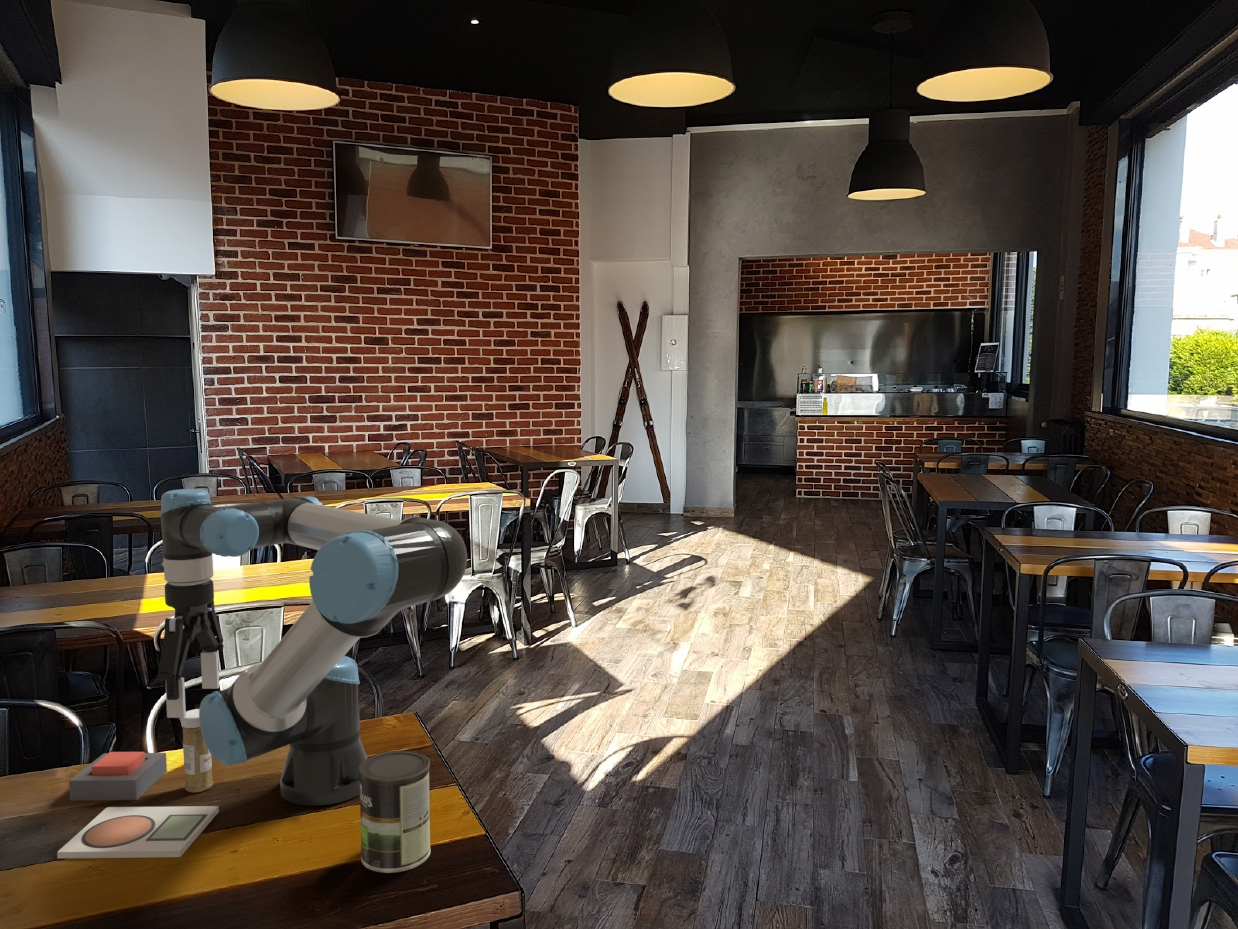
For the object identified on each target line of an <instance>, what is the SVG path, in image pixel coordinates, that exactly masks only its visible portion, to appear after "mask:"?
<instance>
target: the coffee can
mask: <svg viewBox="0 0 1238 929" xmlns="http://www.w3.org/2000/svg"><path fill="white" fill-rule="evenodd" d="M367 758H368V759H366V760H365V761H363V762H362V763H361V764H360V766H359V769H358V772H359V776H360V777H359V780H360V795H359V807H360V810H359V813H360V846H361V847H360V850H361V851H360V852H361V855H360V861H361V863H362V865H363V866H364V867H365V868H366V869H367V870H370V871H372V872H376V873H382V874H383V873H384V874H394V873H395V874H397V873H402V872H406V871H409V870H412V869H415V868H417V867H418V866H421V865H422V864H423V863H425V862H426V861H428V859H429V857H430V855H431V852H432V851H431V850H432V849H431V828H430V826H431V825H430V823H431V820H430V819H431V818H430V817H431V816H430V767H431V761H430V759H429V757H427V756H426V755H424V754H422V753H420V752H416V751H411V750H410V751H409V750H408V751H407V750H394V751H387V752H385V751H384V752H382V753H378V754H375V755H372V756H371V757H367Z"/></svg>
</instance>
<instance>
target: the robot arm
mask: <svg viewBox="0 0 1238 929" xmlns="http://www.w3.org/2000/svg"><path fill="white" fill-rule="evenodd" d="M160 498H161V499H160V506H161V507H160V508H161V509H160V511H161V512H160V513H159V516H160V523H161V524H160V525H161V540H162V552H163V555H162V556H163V561H162V563H161V566H162V567H163V573H164V576H163V577H164V578H163V579H164V581H165V582H166V583H165V585H164V602H165V605H166V606H168V607H170V608H172V609H174V617H173V618H172V617H171V618H170V617H169V618H165V619H164V635H163V641H162V648H161V653H160V658H159V659H160V660H159V665H158V672H157V681H165V700H166V717H167V718H168V719H170V718H171V719H172V718H174V719H179V718H180V719H181V718H184V717H185V716H186V712H187V710H186V708H187V707H186V690H185V689H186V688H185V677H182V676H183V675H182V674H183V671H184V667H185V663H186V660H187V656H188V652H189V649H190V644H191V643H192V642H193V641H194V640H195V639H196V640H197V641H198V643H199V644H200V647H201V649H202V650H203V651H202V652H201V653H200V664H201V667H200V668H201V685H202V686H201V688H202V690H203V689H206V690H207V689H212V690H213V689H214V691H213V692H212V693H209V694H207V695H206V696H204V697H203V699H202V700H201V701H200V705H199V708H198V709H199V721H200V728H201V732H202V735H203V738H204V741H205V743H206V746H207V748H208V750H209V751H210V753H211V757H213V758H214V759H215V760H216V761H218V763H219V764H221V765H223V766H227V767H230V766H231V767H232V766H235V765H238V764H242V763H244V764H245V763H247V762H248V761H249V760H251V759H254V758H257V757H260V756H262V755H265V754H268V753H270V752H274V751H277V750H279V749H280V748H283V747H286V746H288V745H289V749H288V753H287V756H286V759H285V762H284V766H283V769H282V772H281V775H280V782H279V783H280V786H279V787H280V796H281V797H282V798H283V799H284V800H285V801H287V802H289V803H292V804H294V805H300V806H307V807H309V806H312V807H313V806H314V807H316V806H318V807H320V806H327V805H328V806H329V805H333V804H337V803H342V802H345V801H348V800H351V799H354V798H355V797H357V796H360V780H359V777H360V776H359V772H358V769H359V766H360V764H361V763H362V762H363V761H365V760H366V759H368V758H369V757H368V755H367V753H366V751H365V749H364V745H363V743H362V739H361V730H360V728H361V724H360V723H361V722H360V721H361V720H360V679H359V678H360V676H359V670H358V664H357V662H356V661H355V660H354V659H353V658H351V657H349V656H347V655H346V654H347V653H348V652H349V651H350V649H352V647H353V646H354V645H356V643H357V642H358V640H360V639H361V638H362V639H363V638H369V637H371V636H372V637H373V636H374V635H376V634H378V633H379V632H380V631H381V630H383V629H384V628H385V626H387V625H388V624H389V623H390V621H392V619H393V618H394V617H395V616H396V614H398V613H399V612H401V611H402V610H405V609H407V608H411V607H415V606H417V605H422V604H424V603H428V602H432V601H435V600H439V599H441V598H443V597H445V596H446V595H448V594H450V593H451V592H452V591H453V590H455V588H456V587H458V585H459V584H460V582H461V580H462V579H463V577H464V575H465V573H466V568H467V565H468V552H467V547H466V544H465V541H464V539H463V537H462V536H461V534H460V533H459V532H458V531H457V530H456V529H455V528H454V527H452V526H451V525H449V523H448V524H447V523H446V522H444V521H441V520H436V519H432V518H431V519H430V518H424V517H419V516H410V517H407V518H405V519H403V520H399V519H395V518H390V517H384V516H379V515H374V514H370V513H369V514H368V513H366V512H365V513H364V512H358V511H354V510H350V509H349V510H348V509H343V508H338V507H333V506H328V505H324V504H323V503H322V502H320V501H319V499H318V498H316V497H315V496H293V497H289V498H282V499H275V500H268V501H262V502H261V501H260V502H252V503H245V504H244V503H242V504H236V505H228V506H216V505H214V506H213V505H212V501H211V497H210V493H209V492H208V490H206V489H203V488H182V489H181V488H180V489H173V490H168V491H166V492H164V493H162V495H161V497H160ZM280 544H291V545H295V546H299V547H305V548H307V549H308V548H309V549H311V550H316V551H317V552H316V553H315V555H314V558H313V559H312V562H311V566H310V571H312V575H310V576H308V577H309V578H308V580H309V582H308V583H309V585H308V586H309V589H310V596H311V598H312V601H311V602H310V604H309V605H308V606H307V607H306V609H305V610H304V611H303V612H302V614H301V615H299V617H298V618H297V620H296V621H295V622H294V623H293V625H292V626H290V628H289V630H287V632H286V633H285V634H284V636H282V638H281V640H279V642H278V643H277V645H276V646H275V647H274V648H273V649H272V651H270V653H269V654H268V656H267V657H266V658H265V659H264V661H263V662H262V663H257V664H254V665H252V666H249V667H248V668H246V669H245V670H244V671H242V672H241V673H240V674H239V675H238V676H237V678H236V679H235V680H234V682H233V683H232V684H231V685H230V686H229V687H226V688H225V689H222V690H218V689H219V688H220V676H219V675H220V674H219V672H220V671H219V652H218V651H220V652H221V651H224V649H225V648H224V644H223V643H224V638H223V634H222V631H221V627H220V624H219V621H218V616H217V614H216V611H215V610H216V609H215V601H214V600H215V599H214V598H215V591H214V590H215V589H214V588H215V587H214V581H213V580H212V578H213V577H214V560H213V558H214V557H213V555H215V556H220V557H230V558H231V557H232V558H235V557H242V556H244V555H247V553H249V552H250V551H252V550H253V549H259V548H263V547H268V546H269V547H270V546H276V545H280ZM215 689H217V690H216V691H215Z"/></svg>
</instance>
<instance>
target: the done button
mask: <svg viewBox="0 0 1238 929" xmlns="http://www.w3.org/2000/svg"><path fill="white" fill-rule="evenodd" d="M145 753H146V752H145V751H110V752H108V754H107V755H106V756H105V757H103V758H102V759H101V760H100V761H98V762H97V763H96V764H95V765H93V766H92V775H130V774H131V773H132V772H133V771H135V770H136V769H137V768H138V767H139V766H140V765H141V764H143V763H144V762H145Z"/></svg>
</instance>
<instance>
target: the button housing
mask: <svg viewBox="0 0 1238 929" xmlns="http://www.w3.org/2000/svg"><path fill="white" fill-rule="evenodd" d="M108 753H109V752H108ZM108 753H107V752H106V753H105V752H104V753H102V754H101V755H100V756H99V757H98V758H96V759H94V761H92V762H91V763H89V764H88V765H87V766H86V767H84V768H83V769H82V770H81V771H79V772H78V773H77V774H76V775H74V776H73V777H72V778H70V779H69V780H68V783H69V784H68V785H69V800H70V801H76V802H77V801H79V802H80V801H81V802H82V801H137V800H138V799H140V798H141V796H142V795H144V794H145V793H146V792H147V791H148V790H149V789H151V787H152V786H153V785H154V784H156V782H157V781H159V780H160V779H161V778H162V776H164V775H165V774H166V773H167V772H168V766H167V752H145V762H144V763H143V764H141V765H140V766H139V767H138V768H137V769H136V770H135V771H133V772H132V773H131V774H130V775H92V766H93V765H95V764H96V763H97V762H98V761H100V760H101V759H102V758H103V757H105V756H106V755H107V754H108Z"/></svg>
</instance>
